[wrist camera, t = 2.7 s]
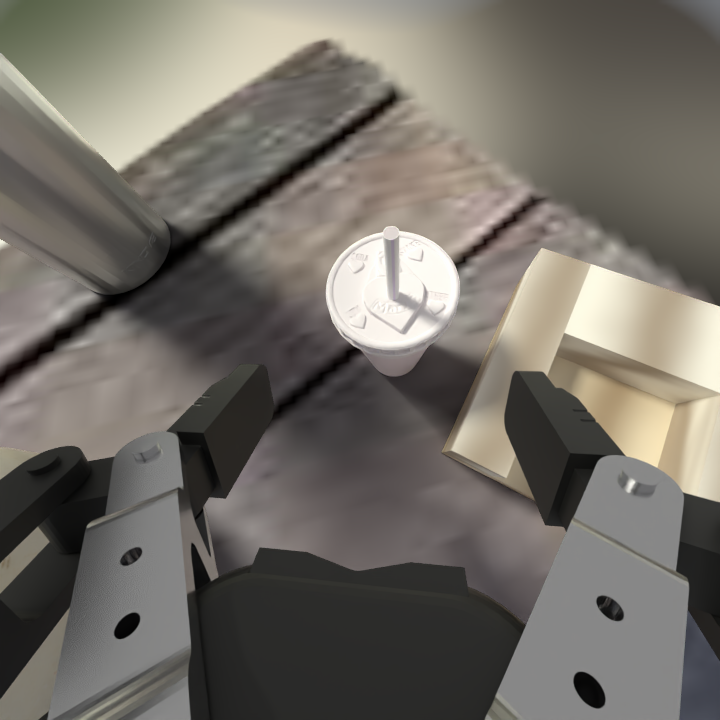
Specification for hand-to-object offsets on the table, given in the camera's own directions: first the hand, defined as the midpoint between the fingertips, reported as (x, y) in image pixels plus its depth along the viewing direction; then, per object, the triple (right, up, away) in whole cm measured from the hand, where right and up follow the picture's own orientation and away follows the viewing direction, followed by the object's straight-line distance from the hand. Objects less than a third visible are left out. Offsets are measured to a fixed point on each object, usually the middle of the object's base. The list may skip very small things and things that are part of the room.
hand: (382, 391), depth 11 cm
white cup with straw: (+2, +2, +14) cm, 14 cm away
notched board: (+14, -2, +11) cm, 18 cm away
